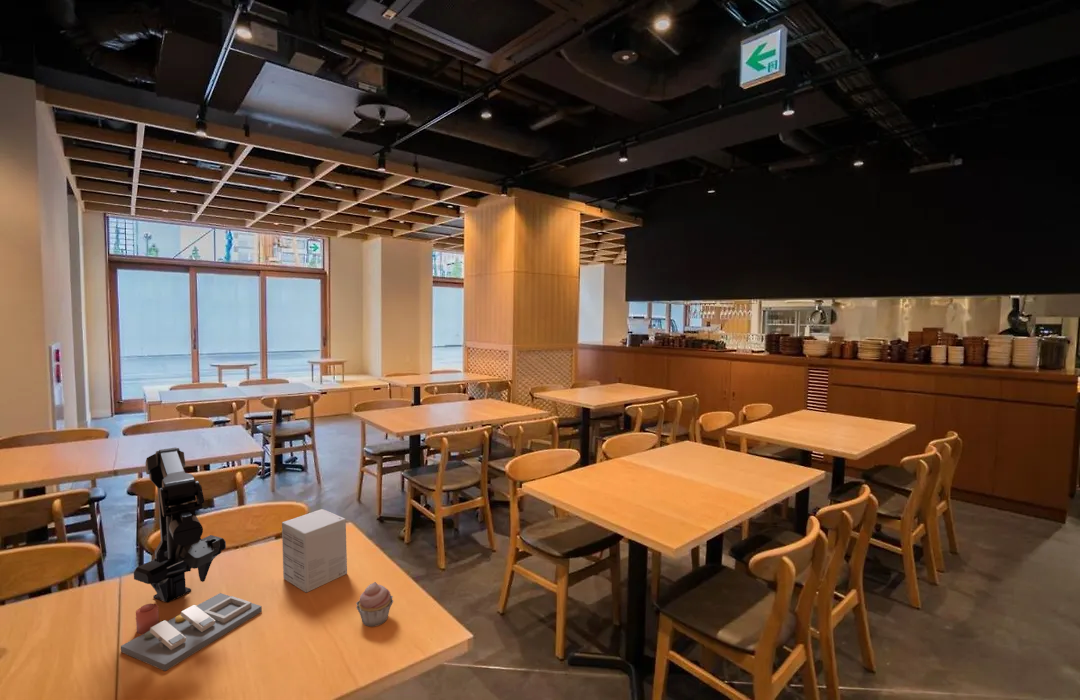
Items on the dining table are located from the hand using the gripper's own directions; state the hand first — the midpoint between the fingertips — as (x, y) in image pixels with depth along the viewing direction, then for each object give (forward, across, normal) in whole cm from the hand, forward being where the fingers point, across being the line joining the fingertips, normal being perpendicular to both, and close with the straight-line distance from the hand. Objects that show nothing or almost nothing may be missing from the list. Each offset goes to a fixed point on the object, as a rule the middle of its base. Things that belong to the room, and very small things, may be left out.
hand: (184, 590), depth 124 cm
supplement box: (+11, +32, -10) cm, 35 cm away
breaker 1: (+7, -6, -3) cm, 10 cm away
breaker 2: (+7, +1, -3) cm, 8 cm away
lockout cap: (+11, -3, +10) cm, 15 cm away
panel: (+10, +1, -2) cm, 11 cm away
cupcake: (+10, +21, -40) cm, 47 cm away
